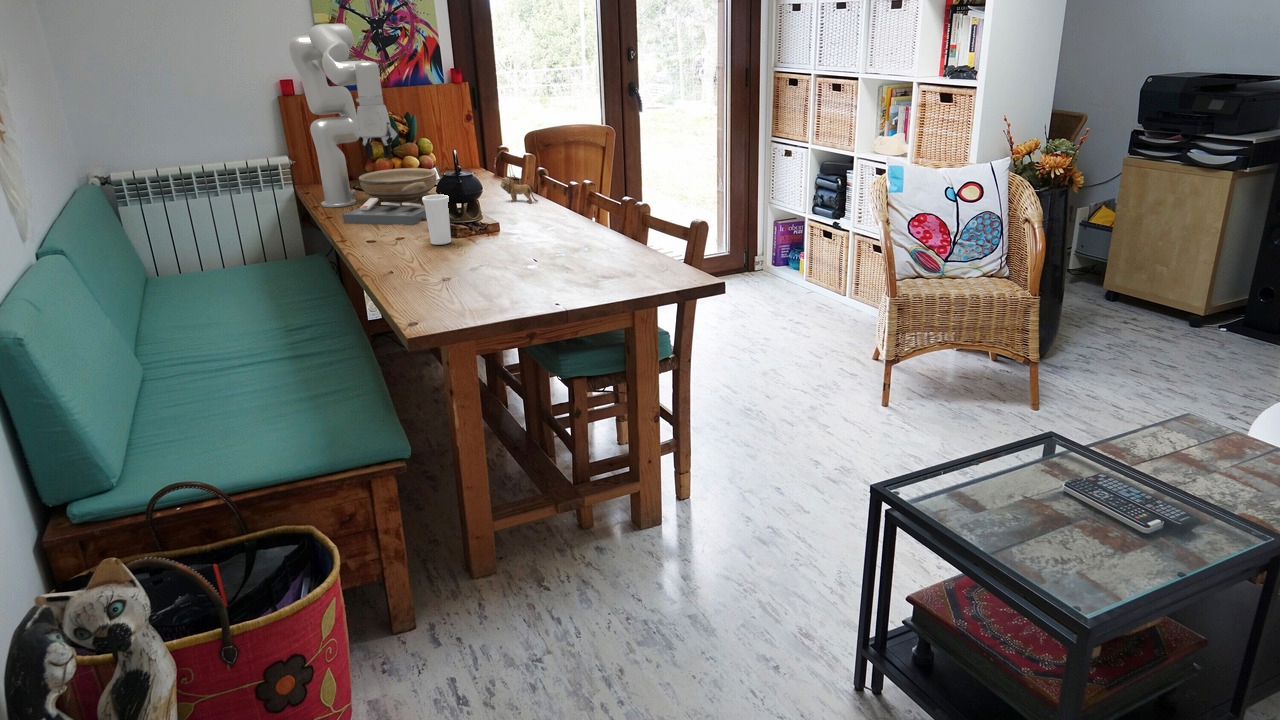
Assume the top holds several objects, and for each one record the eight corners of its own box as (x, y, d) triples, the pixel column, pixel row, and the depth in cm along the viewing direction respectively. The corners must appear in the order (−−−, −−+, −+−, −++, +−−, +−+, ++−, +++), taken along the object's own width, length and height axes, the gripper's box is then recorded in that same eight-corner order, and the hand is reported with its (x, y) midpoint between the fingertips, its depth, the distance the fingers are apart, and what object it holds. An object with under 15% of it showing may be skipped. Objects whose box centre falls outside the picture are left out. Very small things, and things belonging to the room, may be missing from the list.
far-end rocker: (370, 200, 306) (370, 197, 305) (378, 200, 305) (377, 197, 304) (360, 209, 300) (359, 207, 299) (368, 210, 299) (367, 207, 298)
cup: (448, 246, 261) (442, 199, 256) (423, 246, 263) (417, 199, 258) (458, 240, 269) (453, 194, 263) (434, 239, 270) (428, 194, 265)
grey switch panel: (365, 214, 309) (364, 205, 308) (447, 216, 302) (446, 207, 301) (344, 223, 297) (342, 214, 296) (429, 225, 289) (428, 216, 288)
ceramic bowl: (346, 199, 336) (342, 173, 332) (415, 189, 352) (412, 164, 349) (384, 214, 309) (380, 185, 305) (457, 202, 325) (454, 175, 321)
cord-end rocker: (413, 206, 303) (413, 203, 303) (420, 206, 302) (420, 203, 302) (402, 205, 295) (402, 202, 295) (410, 205, 295) (410, 202, 295)
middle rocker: (392, 205, 305) (392, 203, 305) (400, 206, 304) (400, 203, 304) (380, 204, 297) (380, 201, 297) (388, 204, 297) (388, 202, 296)
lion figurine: (499, 202, 321) (497, 178, 318) (506, 199, 326) (504, 175, 323) (535, 204, 317) (533, 179, 313) (541, 201, 321) (540, 177, 318)
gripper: (341, 102, 283) (350, 158, 290) (389, 102, 279) (396, 159, 286) (353, 100, 290) (362, 155, 297) (400, 100, 286) (407, 155, 293)
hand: (378, 156), depth 291 cm, fingers open, 5 cm apart
